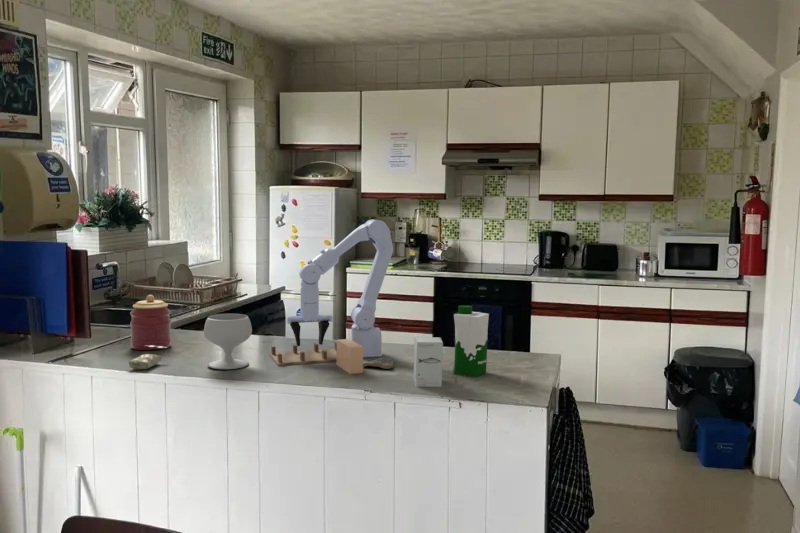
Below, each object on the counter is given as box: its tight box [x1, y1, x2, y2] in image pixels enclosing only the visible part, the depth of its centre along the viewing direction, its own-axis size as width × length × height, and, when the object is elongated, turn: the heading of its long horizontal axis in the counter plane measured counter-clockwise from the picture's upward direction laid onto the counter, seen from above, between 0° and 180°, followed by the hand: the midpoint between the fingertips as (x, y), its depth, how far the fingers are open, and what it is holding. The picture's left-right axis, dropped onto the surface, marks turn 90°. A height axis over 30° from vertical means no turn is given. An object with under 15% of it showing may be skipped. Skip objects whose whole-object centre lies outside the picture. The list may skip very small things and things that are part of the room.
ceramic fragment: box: [363, 356, 395, 370], centre depth 210 cm, size 11×3×10 cm
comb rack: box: [268, 341, 337, 367], centre depth 220 cm, size 23×15×3 cm, turn 111°
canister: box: [129, 294, 172, 351], centre depth 232 cm, size 13×13×18 cm
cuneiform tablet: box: [128, 345, 169, 370], centre depth 207 cm, size 7×4×12 cm
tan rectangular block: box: [335, 338, 364, 375], centre depth 206 cm, size 4×12×8 cm, turn 24°
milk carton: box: [453, 304, 490, 378], centre depth 201 cm, size 9×9×20 cm
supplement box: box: [413, 336, 444, 388], centre depth 190 cm, size 7×7×13 cm
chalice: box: [203, 312, 253, 370], centre depth 208 cm, size 14×14×15 cm
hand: (309, 344), depth 220 cm, fingers open, 7 cm apart
